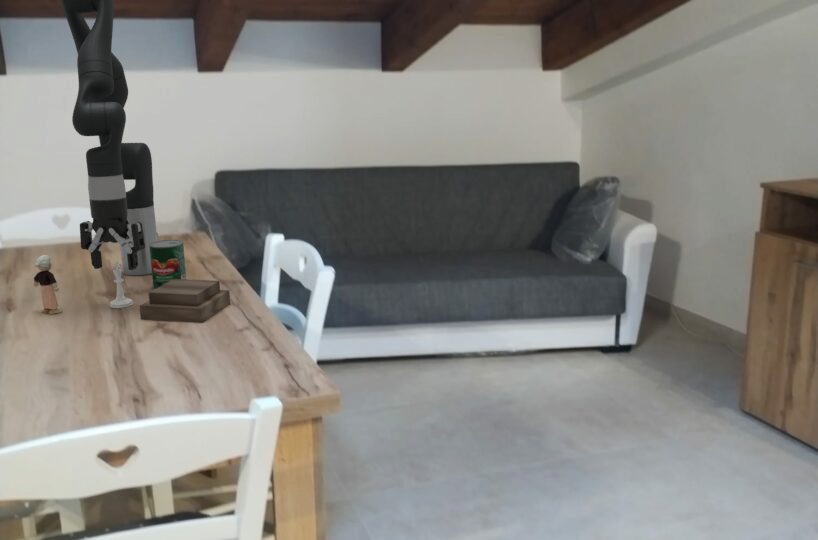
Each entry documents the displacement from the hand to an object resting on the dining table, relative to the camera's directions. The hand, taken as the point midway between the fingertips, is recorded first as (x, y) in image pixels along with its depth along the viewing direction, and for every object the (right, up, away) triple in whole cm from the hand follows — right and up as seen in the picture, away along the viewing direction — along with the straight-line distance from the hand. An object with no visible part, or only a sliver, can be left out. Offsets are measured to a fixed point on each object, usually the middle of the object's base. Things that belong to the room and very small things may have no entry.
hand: (115, 268), depth 176 cm
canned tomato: (+7, -5, +16) cm, 18 cm away
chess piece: (0, -8, +3) cm, 9 cm away
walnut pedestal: (+17, -9, -3) cm, 19 cm away
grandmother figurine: (-14, -10, -1) cm, 17 cm away
